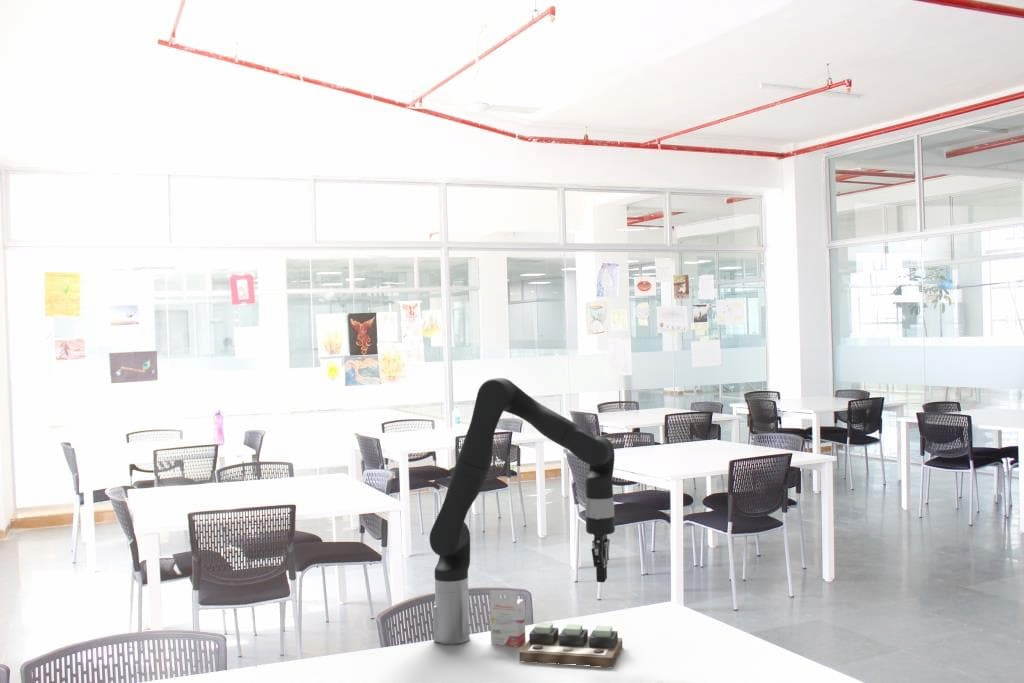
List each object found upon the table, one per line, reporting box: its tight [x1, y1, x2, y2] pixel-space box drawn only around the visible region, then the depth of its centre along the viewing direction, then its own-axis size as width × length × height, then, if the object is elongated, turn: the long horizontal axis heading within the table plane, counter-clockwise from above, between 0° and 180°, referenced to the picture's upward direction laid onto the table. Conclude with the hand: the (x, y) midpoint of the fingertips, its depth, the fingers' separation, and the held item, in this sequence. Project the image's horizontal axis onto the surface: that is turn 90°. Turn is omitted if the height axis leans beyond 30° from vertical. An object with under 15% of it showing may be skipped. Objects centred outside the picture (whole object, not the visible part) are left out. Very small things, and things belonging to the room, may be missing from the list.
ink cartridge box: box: [489, 590, 527, 648], centre depth 255 cm, size 9×5×15 cm, turn 68°
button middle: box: [563, 623, 583, 636], centre depth 246 cm, size 4×4×2 cm
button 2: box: [593, 625, 613, 638], centre depth 244 cm, size 4×4×2 cm
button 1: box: [534, 622, 554, 634], centre depth 248 cm, size 4×4×2 cm
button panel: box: [519, 627, 623, 668], centre depth 244 cm, size 24×16×5 cm, turn 74°
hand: (601, 580), depth 244 cm, fingers closed
